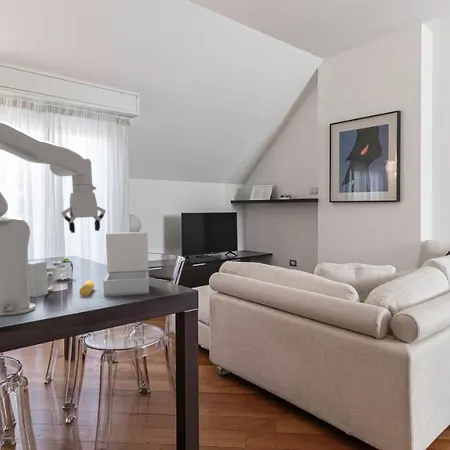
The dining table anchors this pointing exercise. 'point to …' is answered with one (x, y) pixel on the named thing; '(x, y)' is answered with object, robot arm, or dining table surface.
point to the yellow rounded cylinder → (87, 288)
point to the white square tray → (126, 283)
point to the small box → (37, 278)
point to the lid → (127, 252)
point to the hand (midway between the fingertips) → (85, 231)
